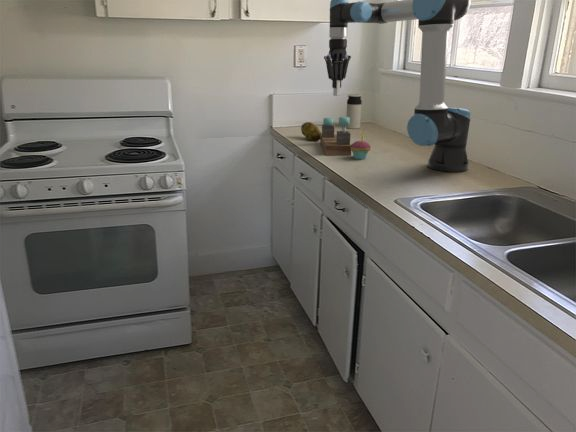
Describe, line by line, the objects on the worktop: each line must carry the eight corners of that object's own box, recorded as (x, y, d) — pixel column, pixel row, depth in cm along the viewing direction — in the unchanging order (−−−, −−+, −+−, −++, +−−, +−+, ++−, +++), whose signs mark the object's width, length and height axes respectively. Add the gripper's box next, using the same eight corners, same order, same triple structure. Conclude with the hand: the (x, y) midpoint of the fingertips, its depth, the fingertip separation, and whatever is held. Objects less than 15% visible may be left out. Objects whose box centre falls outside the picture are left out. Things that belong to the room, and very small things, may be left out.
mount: (351, 155, 206) (352, 134, 203) (325, 155, 206) (326, 134, 202) (343, 142, 230) (343, 123, 227) (320, 142, 230) (320, 123, 227)
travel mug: (361, 128, 266) (363, 95, 260) (347, 129, 265) (349, 95, 258) (357, 126, 273) (359, 94, 267) (344, 126, 272) (345, 94, 266)
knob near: (349, 136, 206) (350, 118, 203) (338, 136, 206) (339, 118, 203) (347, 134, 210) (348, 116, 207) (337, 134, 210) (338, 116, 207)
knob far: (333, 136, 222) (334, 119, 219) (323, 136, 222) (324, 119, 219) (332, 134, 226) (332, 117, 223) (322, 134, 226) (323, 117, 223)
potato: (306, 142, 231) (307, 125, 228) (299, 137, 242) (299, 121, 239) (323, 141, 233) (323, 125, 230) (314, 136, 244) (315, 120, 241)
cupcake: (354, 154, 207) (356, 127, 203) (373, 157, 203) (375, 128, 199) (346, 158, 200) (347, 130, 196) (365, 161, 196) (367, 132, 192)
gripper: (345, 38, 209) (343, 94, 217) (320, 38, 203) (319, 95, 211) (355, 38, 203) (353, 95, 211) (330, 38, 197) (329, 97, 205)
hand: (336, 95), depth 211 cm, fingers closed
